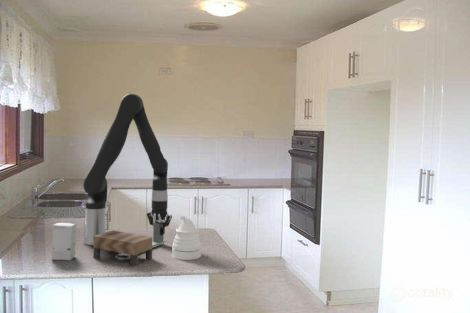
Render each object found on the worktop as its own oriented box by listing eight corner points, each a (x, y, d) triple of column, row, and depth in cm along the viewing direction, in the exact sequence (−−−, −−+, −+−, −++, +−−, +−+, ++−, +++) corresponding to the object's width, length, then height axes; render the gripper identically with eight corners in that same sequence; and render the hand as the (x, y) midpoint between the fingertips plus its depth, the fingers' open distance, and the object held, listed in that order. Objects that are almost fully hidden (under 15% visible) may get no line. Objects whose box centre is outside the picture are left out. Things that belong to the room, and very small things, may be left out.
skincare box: (51, 260, 195) (51, 225, 194) (57, 255, 202) (56, 222, 200) (71, 260, 195) (71, 225, 194) (76, 256, 201) (76, 222, 200)
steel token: (112, 259, 199) (112, 255, 199) (122, 256, 205) (122, 252, 205) (123, 261, 197) (123, 258, 197) (132, 258, 202) (132, 254, 202)
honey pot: (174, 260, 199) (175, 219, 198) (170, 252, 212) (170, 213, 210) (203, 258, 203) (204, 218, 202) (197, 250, 215) (198, 212, 214)
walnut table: (93, 257, 200) (93, 236, 199) (112, 251, 211) (112, 230, 210) (134, 266, 190) (134, 243, 190) (152, 258, 201) (152, 237, 200)
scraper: (157, 242, 226) (157, 221, 225) (164, 243, 224) (164, 222, 224) (130, 252, 208) (130, 230, 207) (137, 253, 206) (137, 231, 205)
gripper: (142, 198, 222) (142, 234, 223) (167, 201, 216) (166, 238, 217) (152, 196, 229) (151, 231, 230) (176, 199, 223) (175, 235, 224)
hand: (159, 234), depth 224 cm, fingers closed on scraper, 3 cm apart
